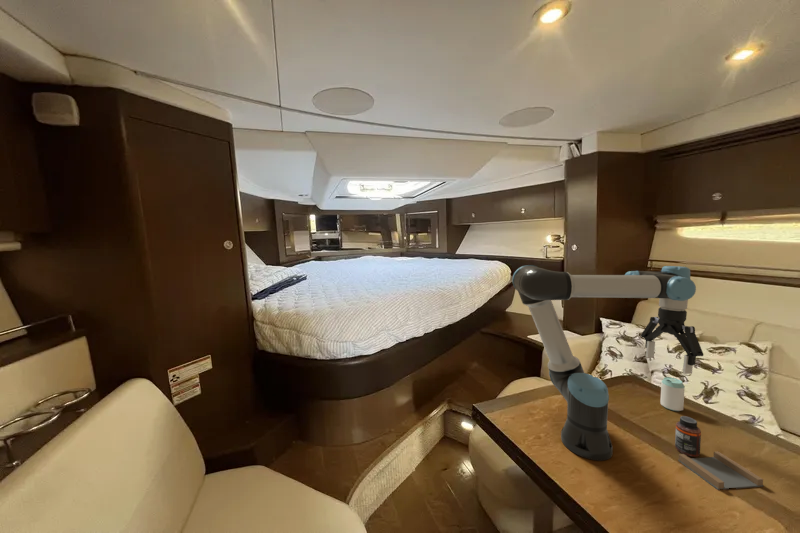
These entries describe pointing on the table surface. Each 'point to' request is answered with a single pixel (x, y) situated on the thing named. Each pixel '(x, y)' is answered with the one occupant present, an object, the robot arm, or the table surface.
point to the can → (672, 394)
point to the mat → (721, 471)
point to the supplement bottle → (688, 437)
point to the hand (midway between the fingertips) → (667, 364)
